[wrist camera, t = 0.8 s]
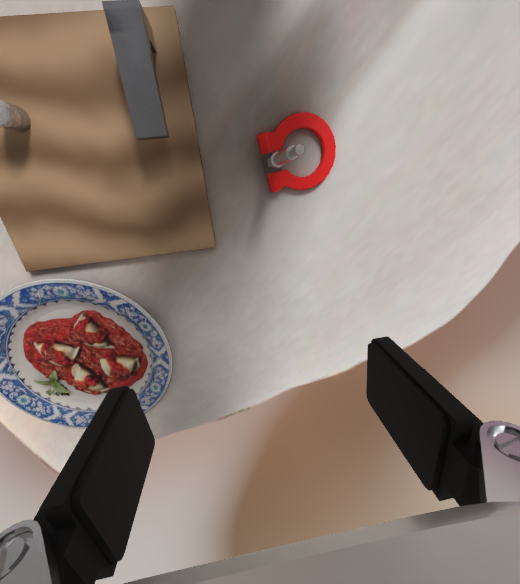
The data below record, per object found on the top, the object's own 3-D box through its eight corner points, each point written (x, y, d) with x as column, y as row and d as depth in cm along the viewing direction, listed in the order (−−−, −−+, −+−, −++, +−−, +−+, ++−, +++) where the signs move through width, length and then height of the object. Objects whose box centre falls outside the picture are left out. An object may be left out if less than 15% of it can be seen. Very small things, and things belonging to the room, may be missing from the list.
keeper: (120, 29, 26) (101, 1, 22) (151, 27, 26) (138, -1, 22) (148, 144, 29) (136, 138, 25) (174, 142, 30) (167, 135, 26)
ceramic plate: (110, 242, 34) (100, 247, 31) (203, 380, 44) (202, 393, 41) (-58, 321, 35) (-82, 332, 32) (70, 438, 45) (59, 454, 42)
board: (-80, 28, 25) (-93, 22, 24) (175, 11, 26) (173, 5, 25) (31, 269, 34) (26, 271, 33) (215, 245, 35) (215, 247, 35)
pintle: (0, 106, 27) (-43, 91, 22) (24, 104, 27) (-14, 88, 23) (11, 133, 28) (-29, 123, 23) (34, 131, 28) (0, 121, 23)
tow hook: (325, 105, 31) (252, 128, 31) (394, 54, 19) (277, 89, 19) (336, 178, 35) (271, 199, 34) (400, 173, 23) (301, 205, 22)
